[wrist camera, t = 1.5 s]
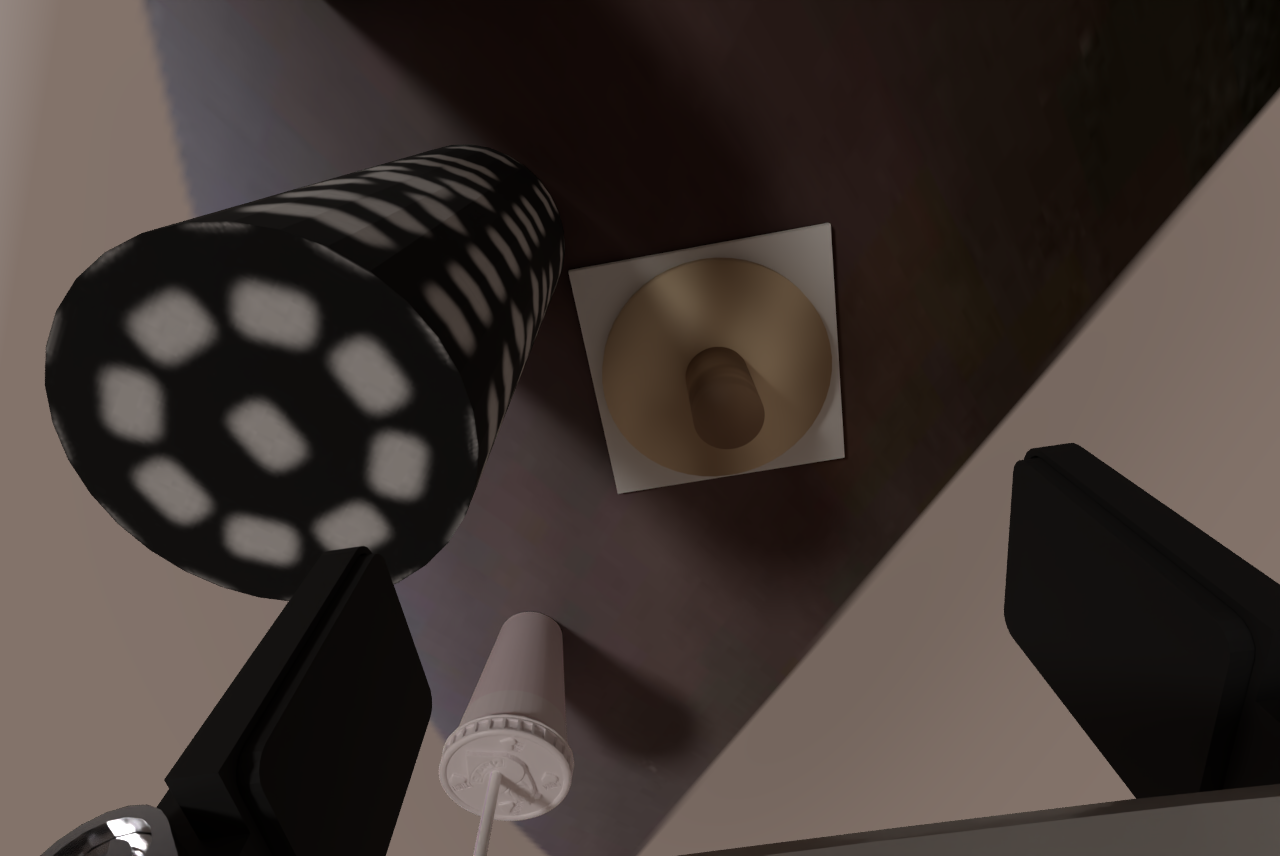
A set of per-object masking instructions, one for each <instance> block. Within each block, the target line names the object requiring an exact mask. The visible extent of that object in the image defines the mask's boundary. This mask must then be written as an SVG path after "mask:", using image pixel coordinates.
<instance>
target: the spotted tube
mask: <svg viewBox="0 0 1280 856" xmlns="http://www.w3.org/2000/svg"><path fill="white" fill-rule="evenodd" d="M564 253H565V243H564V230H563V227H562V223H561V219H560V215H559V212H558V210H557V208H556V206H555V204H554V202H553V200H552V197H551V195H550V194H549V193H548V191H547V190H546V189H545V187H544V186H543V184H542V183H541V182H540V180H539V179H538V178H537V177H536V176H535V175H534V174H533V173H531V172H530V171H529V170H528V169H527V168H526V167H525V166H524V165H522V164H521V163H519V162H518V161H516V160H514V159H513V158H511V157H510V156H508V155H506V154H503V153H501V152H498V151H496V150H493V149H491V148H487V147H481V146H476V145H450V146H446V147H442V148H438V149H434V150H431V151H427V152H424V153H420V154H417V155H413V156H410V157H406V158H403V159H399V160H396V161H392V162H389V163H385V164H382V165H378V166H375V167H371V168H368V169H364V170H361V171H357V172H354V173H350V174H347V175H343V176H340V177H336V178H333V179H329V180H326V181H322V182H319V183H315V184H312V185H308V186H305V187H301V188H298V189H294V190H291V191H287V192H284V193H280V194H277V195H273V196H270V197H266V198H263V199H259V200H256V201H252V202H249V203H245V204H242V205H238V206H235V207H231V208H228V209H225V210H221V211H218V212H214V213H211V214H207V215H204V216H200V217H197V218H193V219H190V220H186V221H183V222H179V223H176V224H172V225H169V226H165V227H162V228H158V229H155V230H152V231H148V232H145V233H141V234H139V235H137V236H136V237H134V238H132V239H130V240H128V241H126V242H124V243H122V244H120V245H118V246H116V247H114V248H113V249H110V250H109V251H107V252H105V253H104V254H103V255H102V256H100V257H99V258H98V259H97V260H96V261H95V262H94V263H93V264H92V265H91V266H90V267H89V268H87V269H86V270H85V271H84V272H83V273H82V274H81V275H80V276H79V277H78V278H77V279H76V280H75V281H74V283H73V285H72V286H71V288H70V290H69V291H68V293H67V295H66V296H65V298H64V299H63V301H62V303H61V304H60V306H59V308H58V309H57V311H56V314H55V317H54V321H53V324H52V328H51V331H50V335H49V338H48V341H47V345H46V363H45V387H46V393H47V398H48V402H49V407H50V412H51V417H52V422H53V425H54V427H55V429H56V432H57V434H58V436H59V439H60V441H61V444H62V446H63V448H64V450H65V453H66V455H67V457H68V460H69V461H70V463H71V465H72V466H73V468H74V469H75V471H76V472H77V474H78V475H79V477H80V478H81V480H82V481H83V483H84V484H85V486H86V487H87V489H88V491H89V492H90V493H91V495H92V496H93V497H94V498H95V499H96V500H97V501H98V502H99V503H100V505H101V506H102V507H103V508H104V509H105V510H106V511H107V512H108V513H109V514H110V515H111V517H112V518H113V519H114V520H115V521H116V522H117V523H118V524H119V525H120V526H121V527H123V528H124V529H125V530H126V531H128V532H129V533H130V534H131V535H132V536H134V537H135V538H136V539H137V540H138V541H140V542H141V543H142V544H143V545H145V546H146V547H147V548H148V549H150V550H151V551H153V552H154V553H156V554H158V555H159V556H161V557H163V558H164V559H166V560H167V561H169V562H171V563H172V564H174V565H176V566H177V567H179V568H181V569H182V570H184V571H186V572H188V573H191V574H193V575H195V576H198V577H200V578H202V579H204V580H207V581H209V582H211V583H214V584H216V585H218V586H221V587H224V588H227V589H231V590H235V591H238V592H242V593H246V594H249V595H253V596H256V597H261V598H269V599H277V600H284V601H289V600H290V599H291V598H292V596H293V595H294V593H295V592H296V590H297V589H298V588H299V586H300V585H301V583H302V582H303V580H304V579H305V578H306V576H307V575H308V573H309V572H310V570H311V569H312V567H313V566H314V565H315V563H316V562H317V560H318V559H319V557H320V556H321V555H322V554H323V553H324V552H326V551H331V550H338V549H345V548H352V547H359V546H365V547H368V548H369V550H370V551H371V552H372V554H377V553H378V554H380V555H382V557H383V558H384V560H385V562H386V565H387V568H388V571H389V573H390V576H391V579H392V582H393V584H396V583H398V582H400V581H402V580H403V579H405V578H406V577H408V576H409V575H411V574H412V573H414V572H416V571H417V570H419V569H420V568H422V567H423V566H425V565H426V564H427V563H428V562H429V561H430V560H431V559H432V558H433V557H434V556H435V555H436V554H437V553H438V552H439V551H440V550H441V549H442V548H443V547H444V546H445V545H446V544H447V543H448V542H449V541H450V539H451V538H452V536H453V534H454V533H455V531H456V529H457V528H458V526H459V525H460V523H461V521H462V520H463V518H464V517H465V515H466V512H467V510H468V507H469V505H470V502H471V500H472V497H473V495H474V492H475V490H476V487H477V485H478V482H479V480H480V477H481V475H482V472H483V469H484V467H485V464H486V462H487V459H488V457H489V454H490V452H491V449H492V447H493V444H494V442H495V439H496V437H497V434H498V432H499V429H500V427H501V424H502V421H503V419H504V416H505V414H506V411H507V409H508V406H509V404H510V401H511V399H512V396H513V394H514V391H515V389H516V386H517V384H518V381H519V378H520V376H521V373H522V371H523V368H524V366H525V363H526V361H527V358H528V356H529V353H530V351H531V348H532V346H533V343H534V341H535V338H536V336H537V333H538V330H539V328H540V325H541V323H542V320H543V318H544V315H545V313H546V310H547V308H548V305H549V303H550V300H551V298H552V295H553V293H554V290H555V288H556V285H557V282H558V279H559V276H560V273H561V271H562V268H563V261H564Z"/></svg>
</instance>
